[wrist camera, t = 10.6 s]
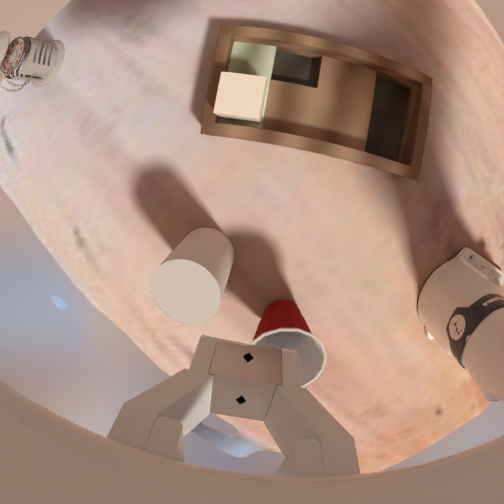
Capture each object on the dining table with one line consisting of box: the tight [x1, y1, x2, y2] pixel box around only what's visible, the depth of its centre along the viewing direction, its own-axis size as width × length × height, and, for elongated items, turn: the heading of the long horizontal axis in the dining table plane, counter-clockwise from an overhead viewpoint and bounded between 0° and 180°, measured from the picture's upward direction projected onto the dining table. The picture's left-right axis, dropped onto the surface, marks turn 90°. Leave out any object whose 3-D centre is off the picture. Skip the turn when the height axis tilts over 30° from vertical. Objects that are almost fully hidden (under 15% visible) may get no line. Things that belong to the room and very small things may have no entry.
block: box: [213, 72, 267, 123], centre depth 29 cm, size 5×5×5 cm
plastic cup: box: [250, 300, 327, 388], centre depth 38 cm, size 11×11×12 cm
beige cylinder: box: [151, 227, 235, 324], centre depth 36 cm, size 8×8×12 cm
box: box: [200, 25, 432, 181], centre depth 30 cm, size 28×15×4 cm, turn 81°
